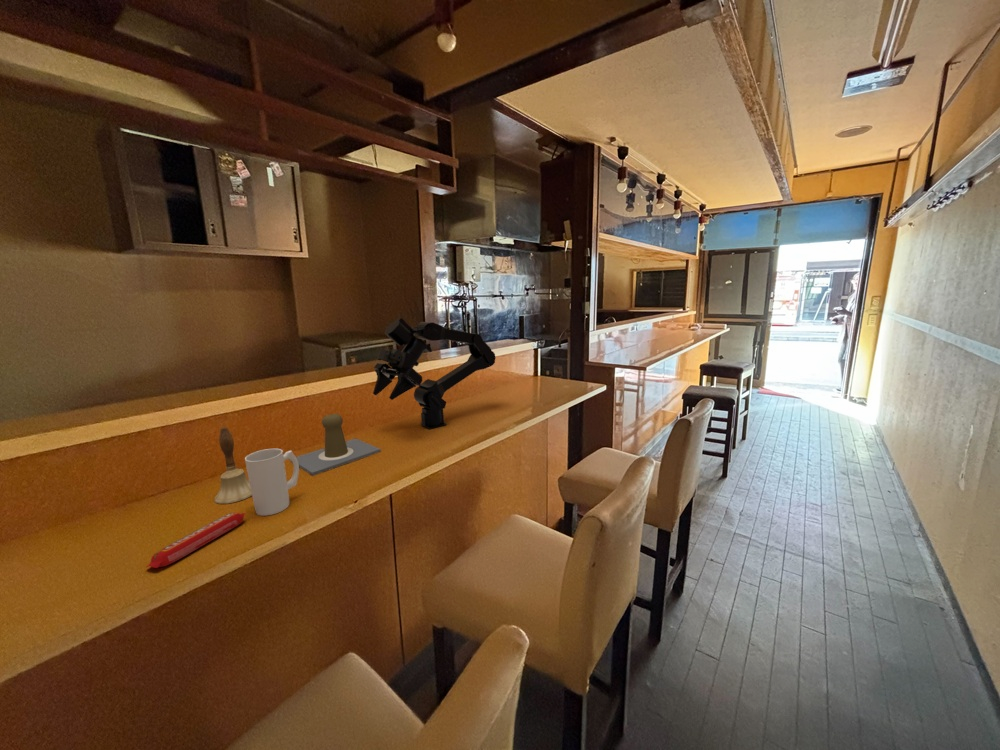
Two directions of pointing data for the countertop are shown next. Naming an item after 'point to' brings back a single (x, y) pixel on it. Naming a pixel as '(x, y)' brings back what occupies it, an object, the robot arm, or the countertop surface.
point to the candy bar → (195, 540)
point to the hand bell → (231, 474)
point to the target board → (320, 463)
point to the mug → (270, 479)
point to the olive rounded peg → (334, 436)
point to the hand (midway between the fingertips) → (382, 396)
